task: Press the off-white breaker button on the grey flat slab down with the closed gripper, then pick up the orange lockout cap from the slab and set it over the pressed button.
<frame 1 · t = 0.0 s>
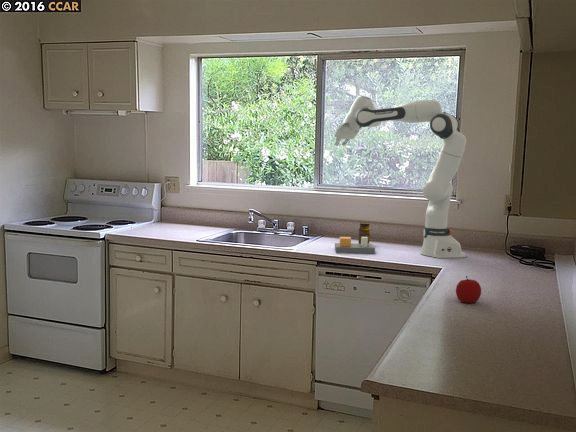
hand: (339, 145, 339), 54 cm above the worktop, tool tilted 30°, fingers open, 8 cm apart
apple: (467, 302, 231), on the worktop
breaker button: (364, 242, 322), point 5 cm above the worktop, slide at 0.0 cm
grey flat slab: (354, 251, 323), on the worktop
condiment: (362, 245, 342), on the worktop
lockout cap: (345, 245, 323), point 3 cm above the worktop, touching grey flat slab
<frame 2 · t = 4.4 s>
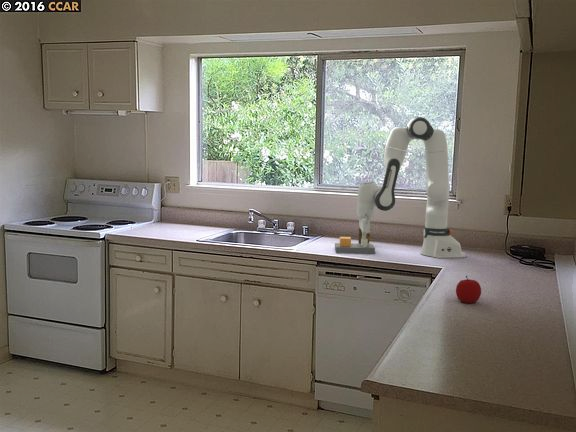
hand: (364, 239, 322), 6 cm above the worktop, tool pointing down, fingers closed, pressing on breaker button
breaker button: (364, 244, 322), point 4 cm above the worktop, slide at 1.1 cm, touching gripper
everything else where it was.
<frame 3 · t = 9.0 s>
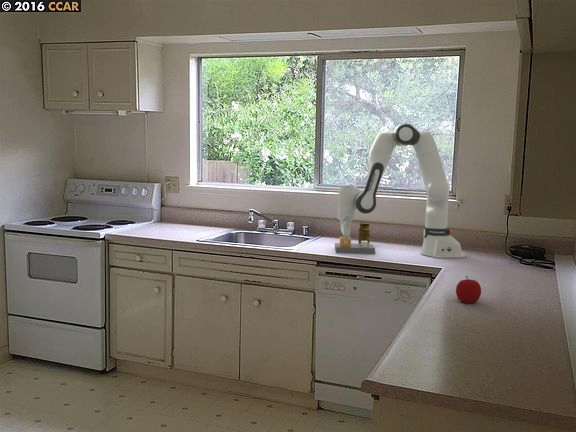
hand: (345, 242, 323), 5 cm above the worktop, tool pointing down, fingers closed on lockout cap, 6 cm apart
breaker button: (364, 246, 323), point 3 cm above the worktop, slide at 2.1 cm
lockout cap: (345, 245, 323), point 3 cm above the worktop, touching grey flat slab, gripper
everything else where it was.
when the fingers open (6 cm above the worktop, at t = 13.2 s): lockout cap drops 1 cm, resting on grey flat slab.
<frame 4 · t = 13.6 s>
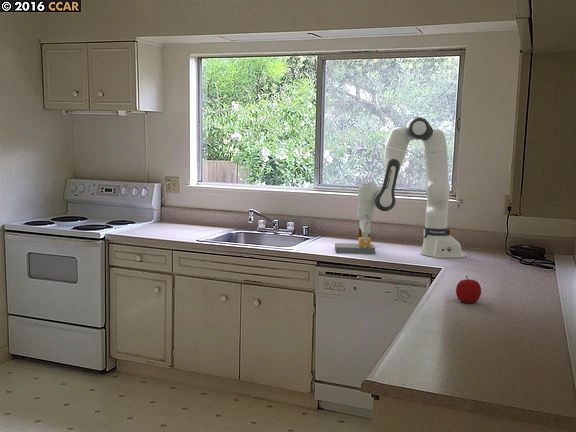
hand: (364, 239, 322), 6 cm above the worktop, tool pointing down, fingers open, 8 cm apart
lockout cap: (364, 245, 323), point 3 cm above the worktop, touching grey flat slab
everything else where it was.
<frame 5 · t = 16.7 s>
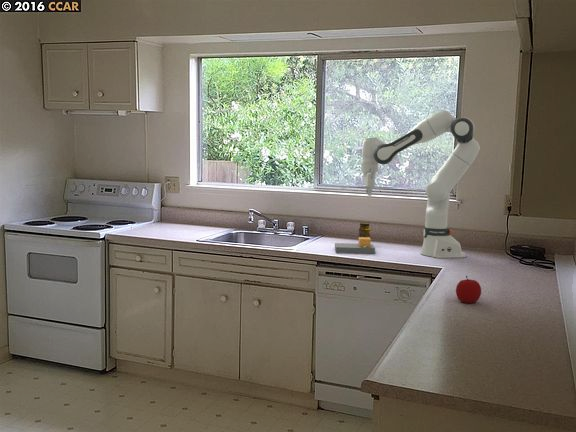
hand: (368, 194, 326), 29 cm above the worktop, tool pointing down, fingers open, 8 cm apart
nothing on the worktop moved.
at the end: breaker button slide at 2.1 cm; lockout cap 0.0 cm from the target spot on the grey flat slab, point 3.0 cm above the grey flat slab's base; the gripper is holding nothing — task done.
